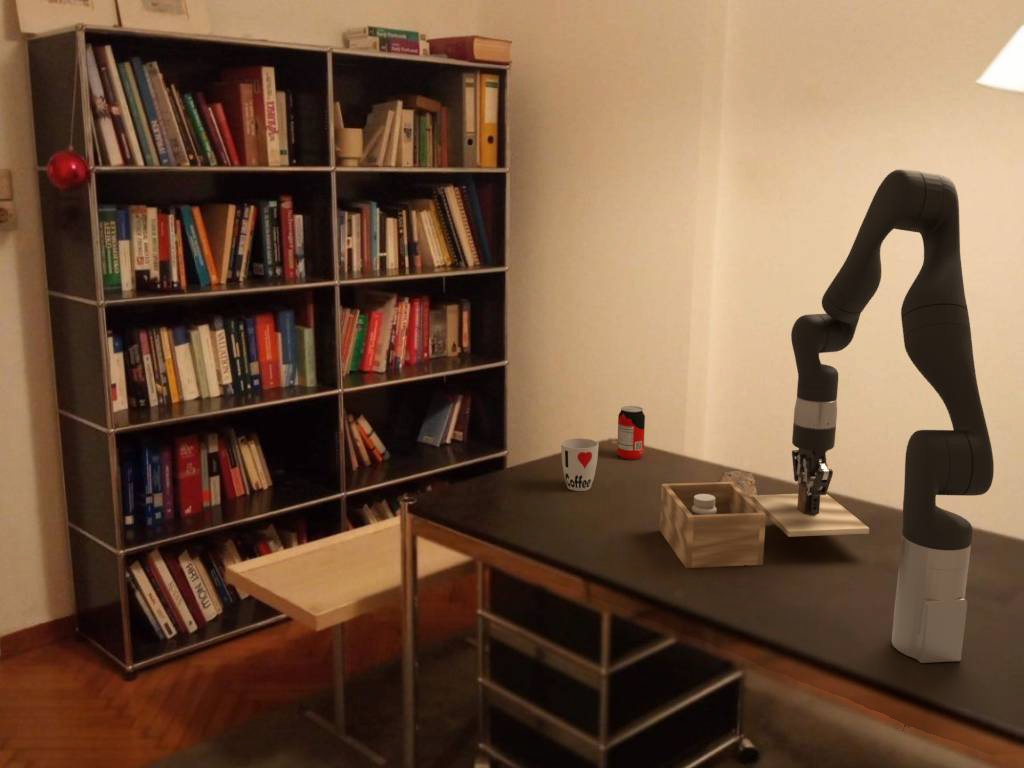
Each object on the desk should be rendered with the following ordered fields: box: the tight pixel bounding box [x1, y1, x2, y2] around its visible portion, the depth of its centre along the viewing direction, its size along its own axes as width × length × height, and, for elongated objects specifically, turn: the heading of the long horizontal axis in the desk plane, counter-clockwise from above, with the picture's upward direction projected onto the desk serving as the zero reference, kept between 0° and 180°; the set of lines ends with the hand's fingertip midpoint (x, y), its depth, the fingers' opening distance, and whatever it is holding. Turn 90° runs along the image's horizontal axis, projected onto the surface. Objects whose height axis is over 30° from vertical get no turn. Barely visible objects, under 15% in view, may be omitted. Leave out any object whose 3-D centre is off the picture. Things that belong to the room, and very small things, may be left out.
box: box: [659, 481, 767, 569], centre depth 184 cm, size 18×14×10 cm
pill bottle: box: [691, 494, 717, 515], centre depth 188 cm, size 5×5×8 cm
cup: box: [560, 437, 600, 492], centre depth 217 cm, size 8×8×10 cm
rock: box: [717, 470, 758, 500], centre depth 213 cm, size 9×6×10 cm
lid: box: [752, 483, 870, 538], centre depth 186 cm, size 19×15×6 cm
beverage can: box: [616, 405, 646, 461], centre depth 238 cm, size 6×6×12 cm
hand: (808, 509), depth 187 cm, fingers closed on lid, 3 cm apart
